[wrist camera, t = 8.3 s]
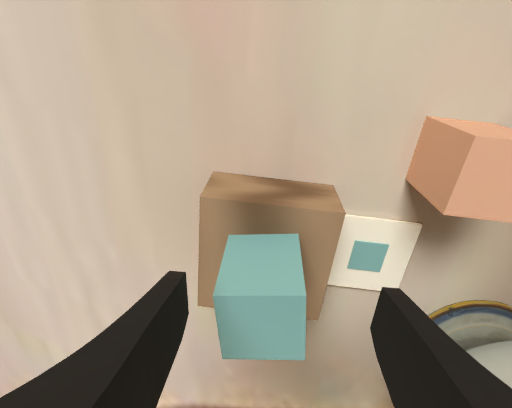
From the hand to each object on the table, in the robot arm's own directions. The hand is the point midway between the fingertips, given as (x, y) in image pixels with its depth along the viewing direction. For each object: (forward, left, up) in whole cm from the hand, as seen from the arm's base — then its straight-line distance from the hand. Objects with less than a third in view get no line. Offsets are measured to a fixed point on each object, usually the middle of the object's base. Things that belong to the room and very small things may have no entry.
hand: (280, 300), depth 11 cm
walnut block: (0, +3, -10) cm, 11 cm away
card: (-7, +4, -10) cm, 13 cm away
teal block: (0, +3, -6) cm, 7 cm away
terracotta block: (-10, -4, -10) cm, 15 cm away
